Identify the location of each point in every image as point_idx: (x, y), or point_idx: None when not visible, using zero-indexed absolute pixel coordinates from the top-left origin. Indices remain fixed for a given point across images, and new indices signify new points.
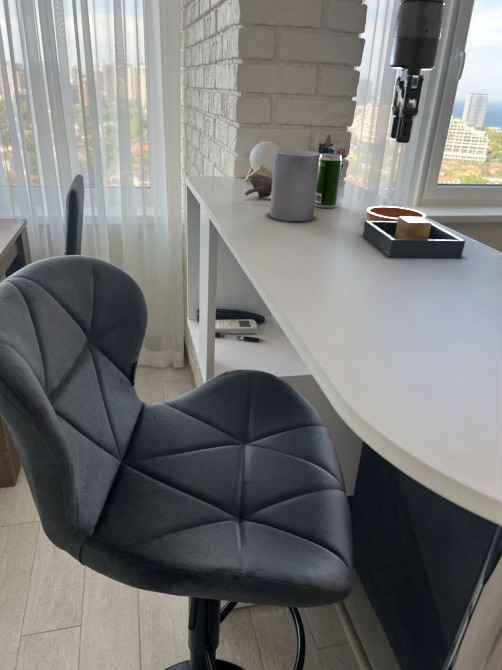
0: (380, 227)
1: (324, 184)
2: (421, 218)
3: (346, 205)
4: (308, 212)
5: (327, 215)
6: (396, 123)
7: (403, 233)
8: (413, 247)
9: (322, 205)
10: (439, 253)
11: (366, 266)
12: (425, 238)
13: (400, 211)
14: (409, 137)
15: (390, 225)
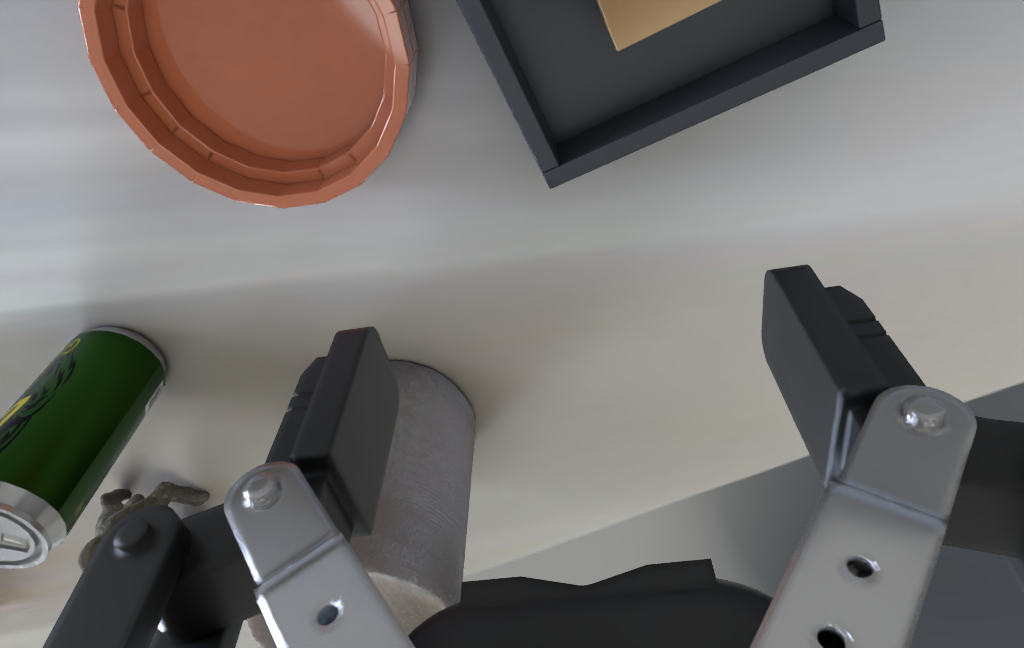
0: (537, 109)
1: (123, 431)
2: None
3: (16, 290)
4: (426, 389)
5: (278, 326)
6: (369, 464)
7: None
8: None
9: (164, 368)
10: None
11: (986, 98)
12: None
13: (109, 36)
14: (817, 285)
15: (515, 67)
